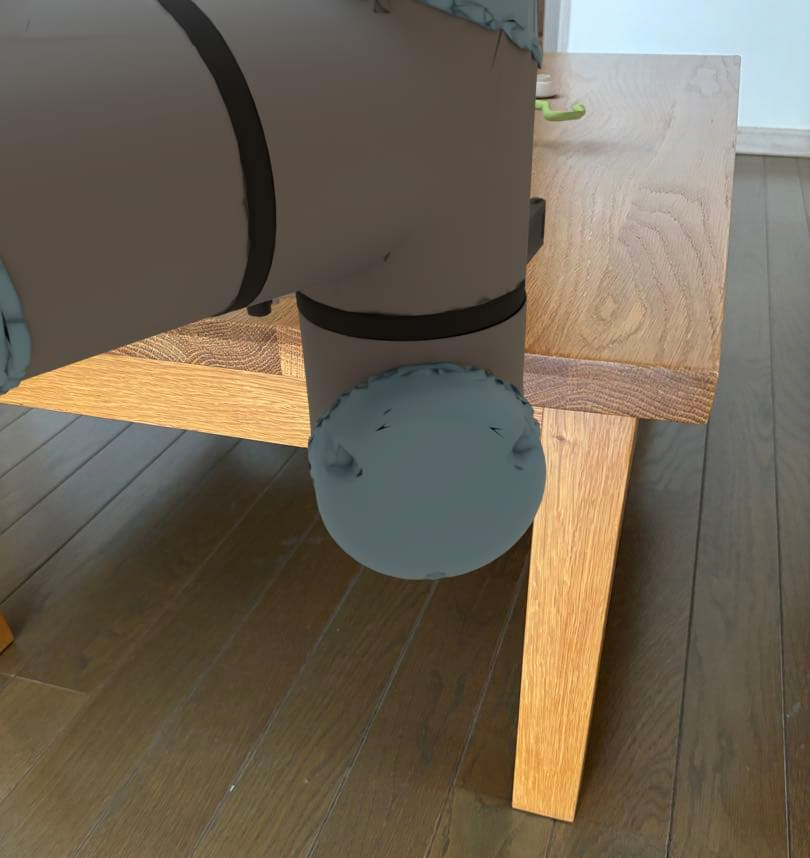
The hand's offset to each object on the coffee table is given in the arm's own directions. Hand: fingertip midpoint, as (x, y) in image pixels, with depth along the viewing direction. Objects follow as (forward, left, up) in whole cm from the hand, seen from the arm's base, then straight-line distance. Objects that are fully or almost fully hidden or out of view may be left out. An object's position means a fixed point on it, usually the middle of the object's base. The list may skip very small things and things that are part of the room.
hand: (362, 197), depth 57 cm
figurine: (+18, +59, -10) cm, 62 cm away
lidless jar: (+34, +95, -10) cm, 101 cm away
